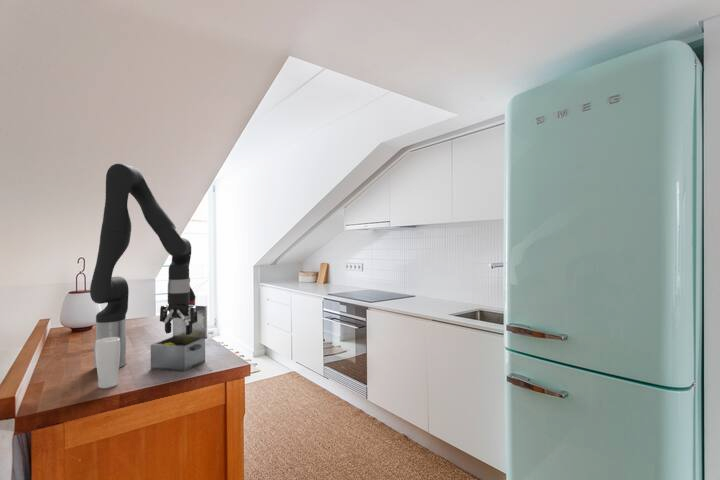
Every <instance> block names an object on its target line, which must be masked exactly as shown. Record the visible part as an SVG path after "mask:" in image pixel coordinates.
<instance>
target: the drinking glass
mask: <svg viewBox="0 0 720 480" xmlns="http://www.w3.org/2000/svg"><path fill="white" fill-rule="evenodd" d="M94 342H95V356H96V365H97V368H96V372H97V379H98V380H97V383H98V384H97V386H98V388H99V389H104V390H105V389H111V388H113V387H116V386H117V385H118V384H119V371H120V367H119V361H120V338H119V337H108V338H103V339H99V340H97V341H96V340H95V341H94Z"/></svg>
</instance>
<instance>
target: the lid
mask: <svg viewBox="0 0 720 480" xmlns="http://www.w3.org/2000/svg"><path fill="white" fill-rule="evenodd" d="M189 307H197V319H198V321H197V322H196V323H193V324H192V333H191V334H190V335H186V325H187V324H186V323H185V321H183V320H182V318H173V319H172V336H180V337H198V338H205V340H207V339H208V306H207V305H196V304H195V305H189ZM188 313H189V312H188ZM189 314H190V313H189ZM185 317H187V316H185Z"/></svg>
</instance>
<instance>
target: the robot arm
mask: <svg viewBox="0 0 720 480" xmlns="http://www.w3.org/2000/svg"><path fill="white" fill-rule="evenodd" d="M106 171H107V172H106V175H105V201H104V208H103V216H102V223H101V229H100V235H99V245H98V252H97V256H96V257H97V258H96V263H95V267H94V270H93V274H92V278H91V281H90V287H89V295H90V298H91V301H93V303H94V304H97V305H98V304H107V305H106V306H105V308H102V310H100V311H99V312H97V314H96V315H95V328H96V329H95V331H96V332H95V335H96V336H95V337H96V338H95V341H94V342H93V357H94V358H93V366H94V367H93V368H95V369H97V365H96V356H95V342H96V341H97V340H99V339H103V338H108V337H119V338H120V361H119V368H122V367H123V366H125V365H126V364H127V347H126V346H127V337H126V336H127V331H126V329H127V328H126V325H127V324H126V322H127V321H126V315H127V313H128V310H129V292H130V291H129V284H128V282H127V280H126V278H125V277H123V276H113V272H114V270H115V266H116V264H117V262H118V261H119V260H120V259H121V257H122V256H123V255H124V254H125V252H126V250H127V249H128V247H129V246H130V245H129V244H130V242H131V236H132V234H131V233H132V221H131V218H130V213H129V208H128V199H129V194H130V195H131V196H132V197H133V198H134V199H135V201H136V202H137V204H138V205H139V206H140V210H141V212H142V214H143V217H144V220H145V221H146V222H147V224H148V225H149V227H150V228H151V229H152V231H153V232H154V233H155V234H156V235H157V237H158V239H159V241H160V243H161V244H162V246H163V248H164V249H165V251H166V252H167V254H169V255H170V256H171V263H170V265H169V266H168V282H167V304H168V305H167V304H165V305H160V310H159V322H162V323H164V332H165V334H166V335H167V334H171V332H172V322H173V318H182V320H183V321H185V323H186V324H187V325H186V335H190V334H191V333H192V324H193V323H196V322H197V321H198V319H197V307H189V302H190V287H191V284H190V283H191V281H190V282H189V277H190V263H191V258H192V244H191V243H190V240H189V239H187V238H184V237H181V235H180V234H179V232H177V230H176V229H177V228H176V225H175V224H174V222H173V221H172V220H171V218H170V217H169V215H168V214H167V213H166V212H165V210H164V209H163V208H162V206H161V205H160V204H159V202H158V201H157V198H156V197H155V196H154V194H153V192H152V190H151V189H150V187H149V185H148V183H147V181H146V180H145V177H144V176H143V173H142V172H141V171H140V170H139V169H138V168H137V167H135V166H133V165H129V164H125V163H114V164H112V165H110V167H108V169H107V170H106ZM188 312H189V313H190V314H189V313H188ZM185 316H187V317H185Z"/></svg>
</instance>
